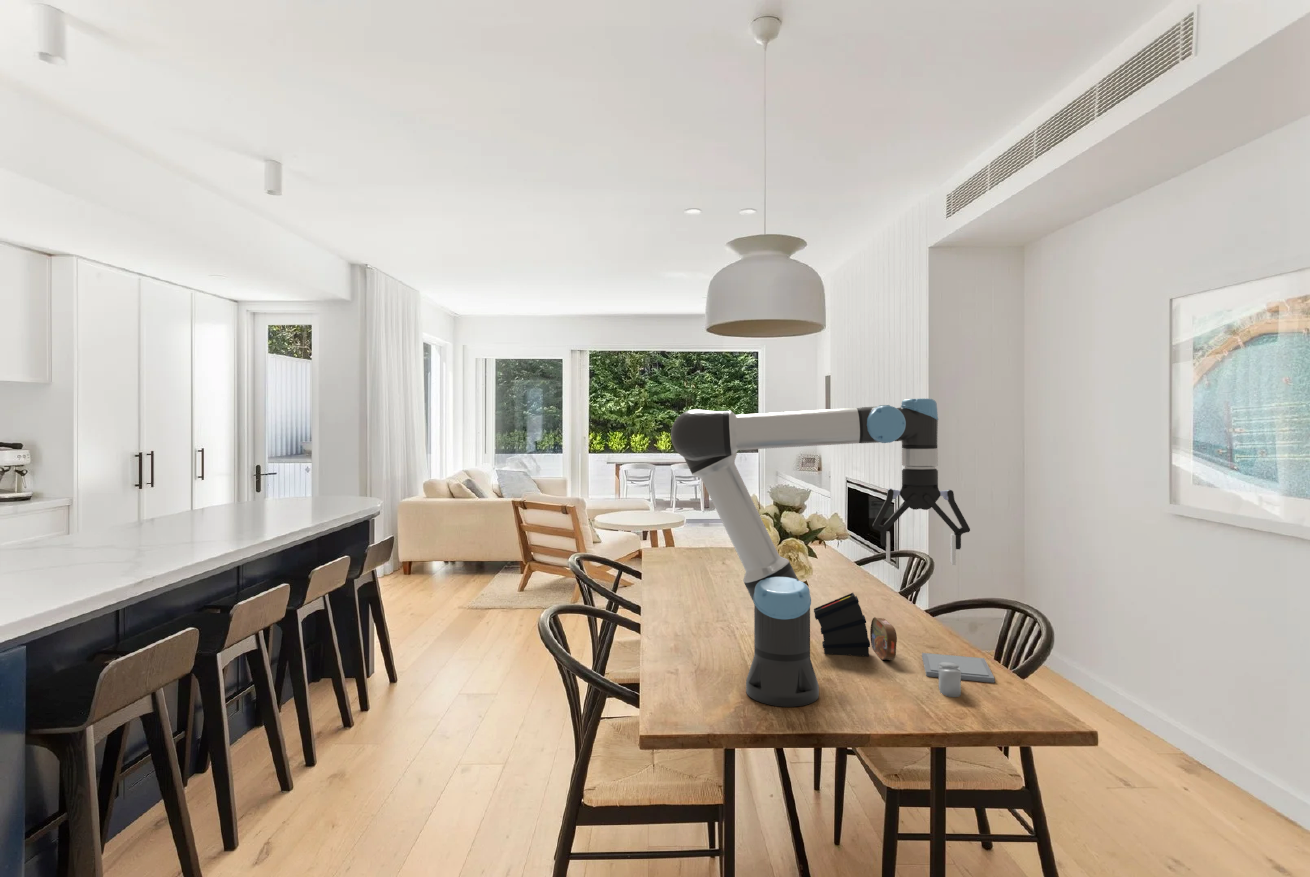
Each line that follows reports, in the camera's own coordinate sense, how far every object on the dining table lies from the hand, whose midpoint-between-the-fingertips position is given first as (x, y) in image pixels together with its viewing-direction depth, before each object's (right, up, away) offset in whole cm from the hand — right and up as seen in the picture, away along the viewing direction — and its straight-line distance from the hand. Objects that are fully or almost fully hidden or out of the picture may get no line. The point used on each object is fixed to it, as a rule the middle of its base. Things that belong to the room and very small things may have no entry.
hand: (920, 562), depth 153 cm
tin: (-3, -26, +17) cm, 31 cm away
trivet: (+11, -26, +6) cm, 29 cm away
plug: (+4, -26, -6) cm, 27 cm away
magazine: (-13, -26, +18) cm, 34 cm away
